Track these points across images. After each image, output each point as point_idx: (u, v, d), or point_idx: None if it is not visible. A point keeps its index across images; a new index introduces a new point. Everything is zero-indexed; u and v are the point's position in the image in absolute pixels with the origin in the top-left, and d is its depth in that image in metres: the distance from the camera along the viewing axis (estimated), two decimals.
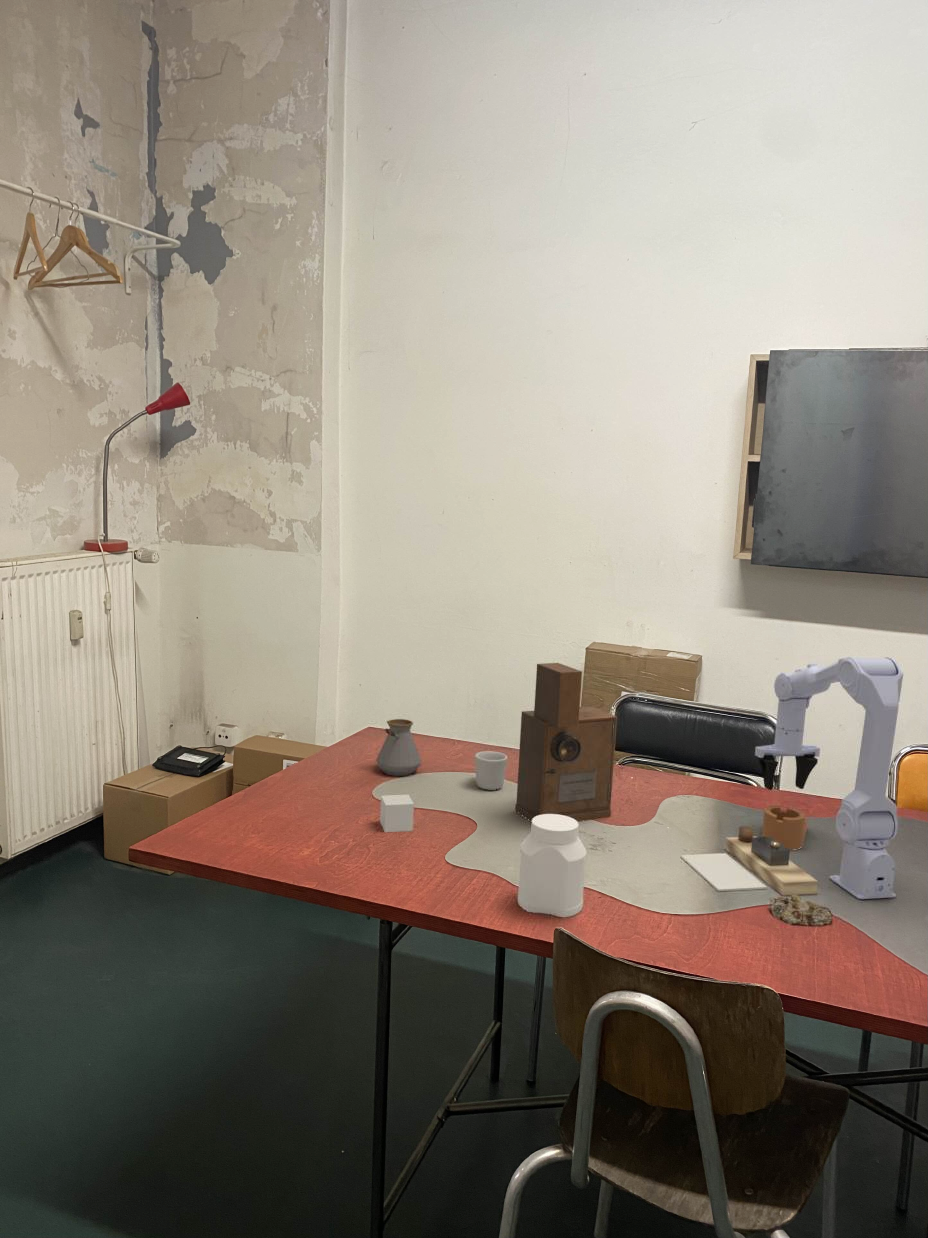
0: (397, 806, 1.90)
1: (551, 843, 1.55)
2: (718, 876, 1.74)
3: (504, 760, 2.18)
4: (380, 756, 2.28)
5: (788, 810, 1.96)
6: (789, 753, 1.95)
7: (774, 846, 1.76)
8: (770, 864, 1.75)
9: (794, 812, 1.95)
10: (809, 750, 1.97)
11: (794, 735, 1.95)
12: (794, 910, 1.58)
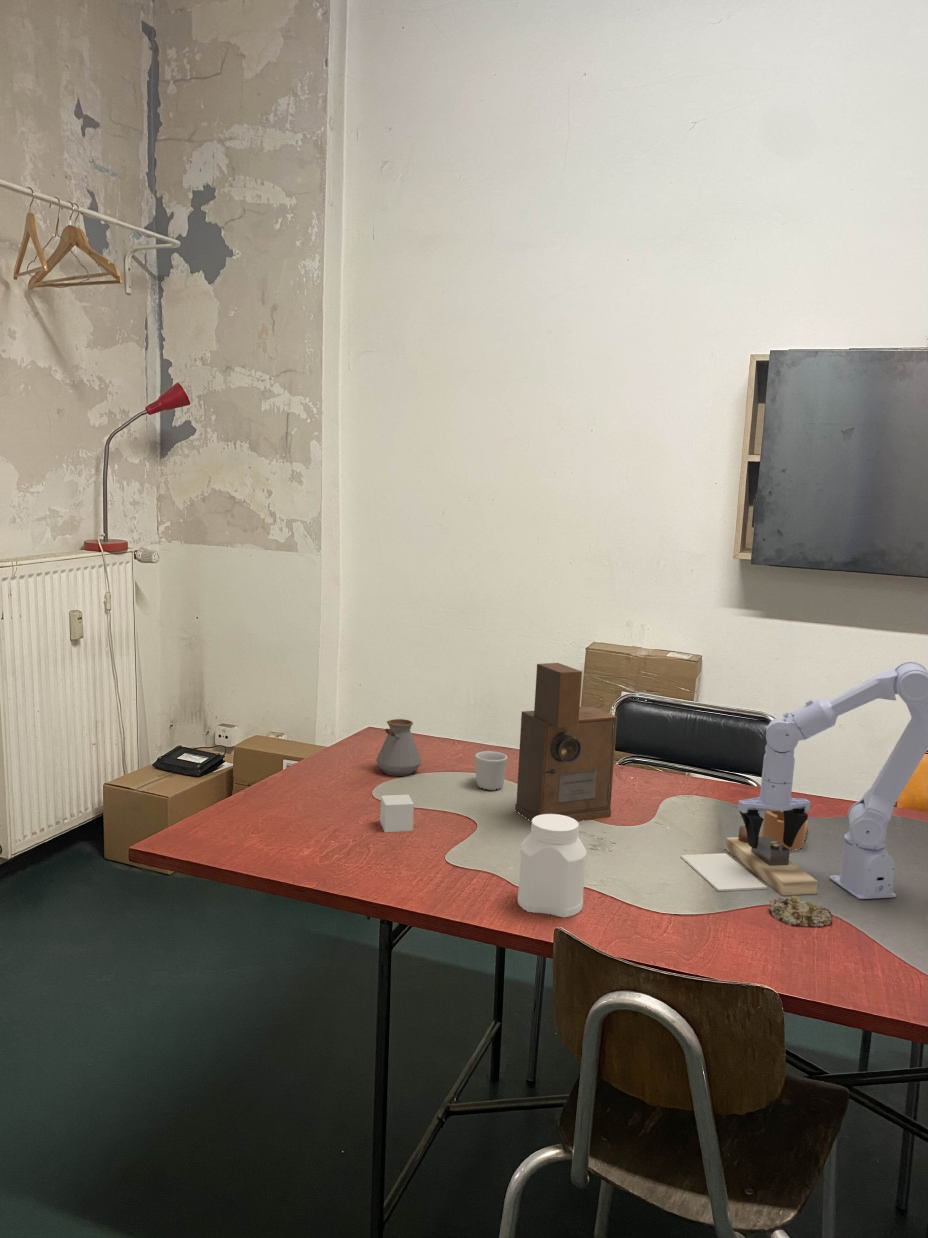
0: (397, 806, 1.90)
1: (551, 843, 1.55)
2: (718, 876, 1.74)
3: (504, 760, 2.18)
4: (380, 756, 2.28)
5: None
6: (776, 808, 1.74)
7: (774, 846, 1.76)
8: (770, 864, 1.75)
9: None
10: (798, 804, 1.77)
11: (782, 788, 1.74)
12: (794, 911, 1.58)
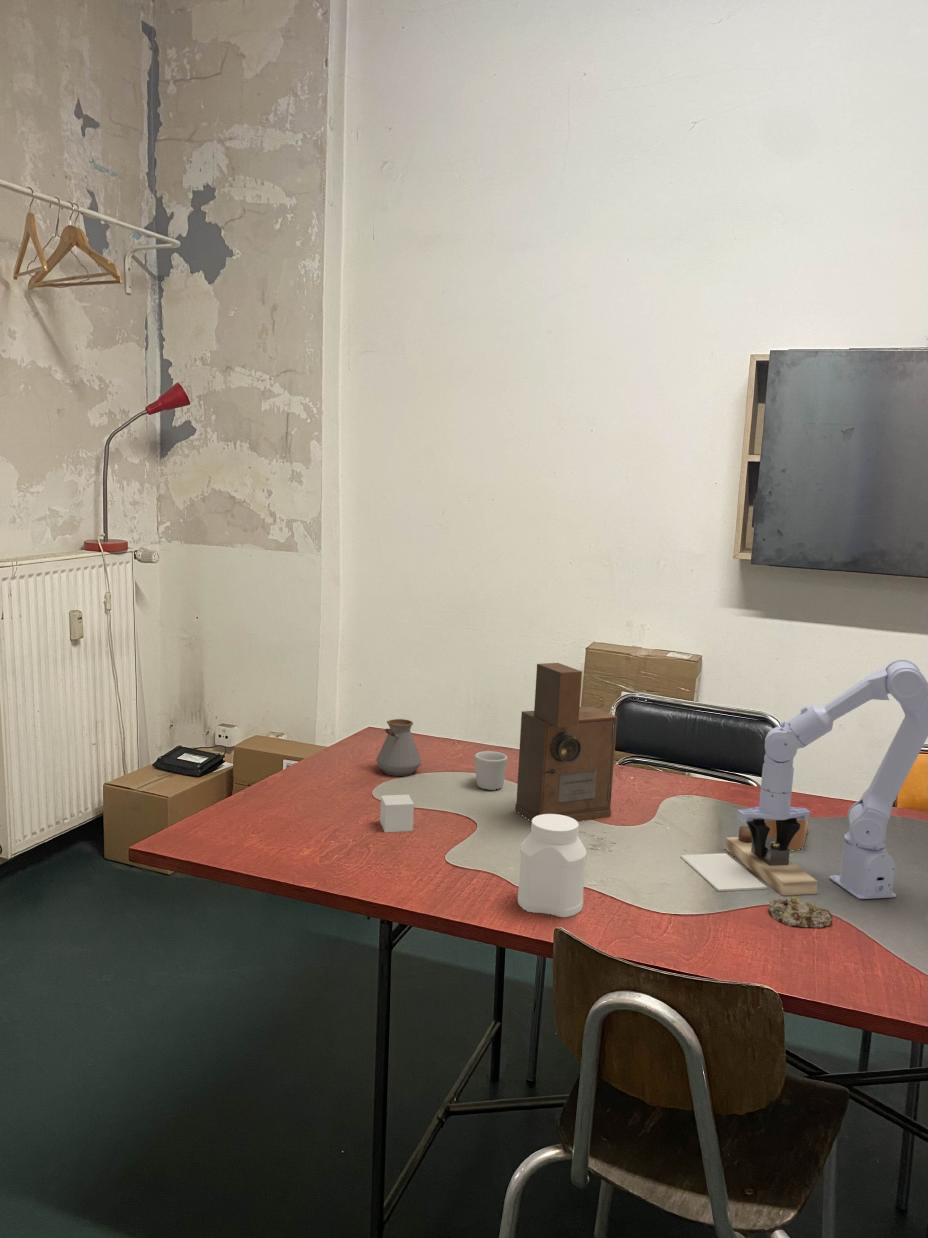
0: (397, 806, 1.90)
1: (551, 843, 1.55)
2: (718, 876, 1.74)
3: (504, 760, 2.18)
4: (380, 756, 2.28)
5: None
6: (775, 818, 1.75)
7: (774, 846, 1.76)
8: (770, 864, 1.75)
9: None
10: (798, 814, 1.77)
11: (781, 798, 1.74)
12: (794, 912, 1.58)
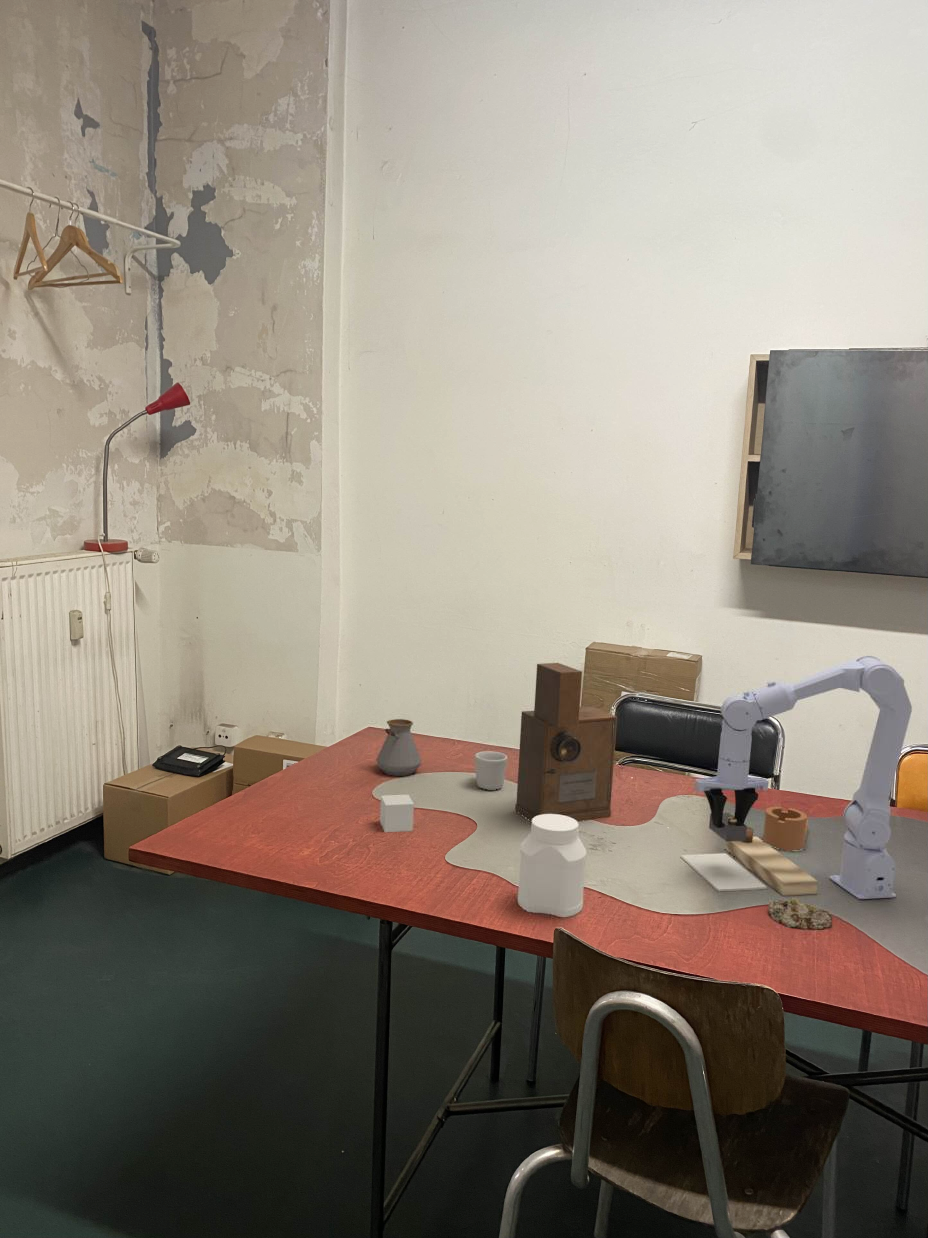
0: (397, 806, 1.90)
1: (551, 843, 1.55)
2: (718, 876, 1.74)
3: (504, 760, 2.18)
4: (380, 756, 2.28)
5: (789, 811, 1.96)
6: (732, 787, 1.72)
7: (731, 822, 1.74)
8: (727, 840, 1.72)
9: (795, 813, 1.95)
10: (756, 783, 1.74)
11: (738, 767, 1.71)
12: (793, 913, 1.57)
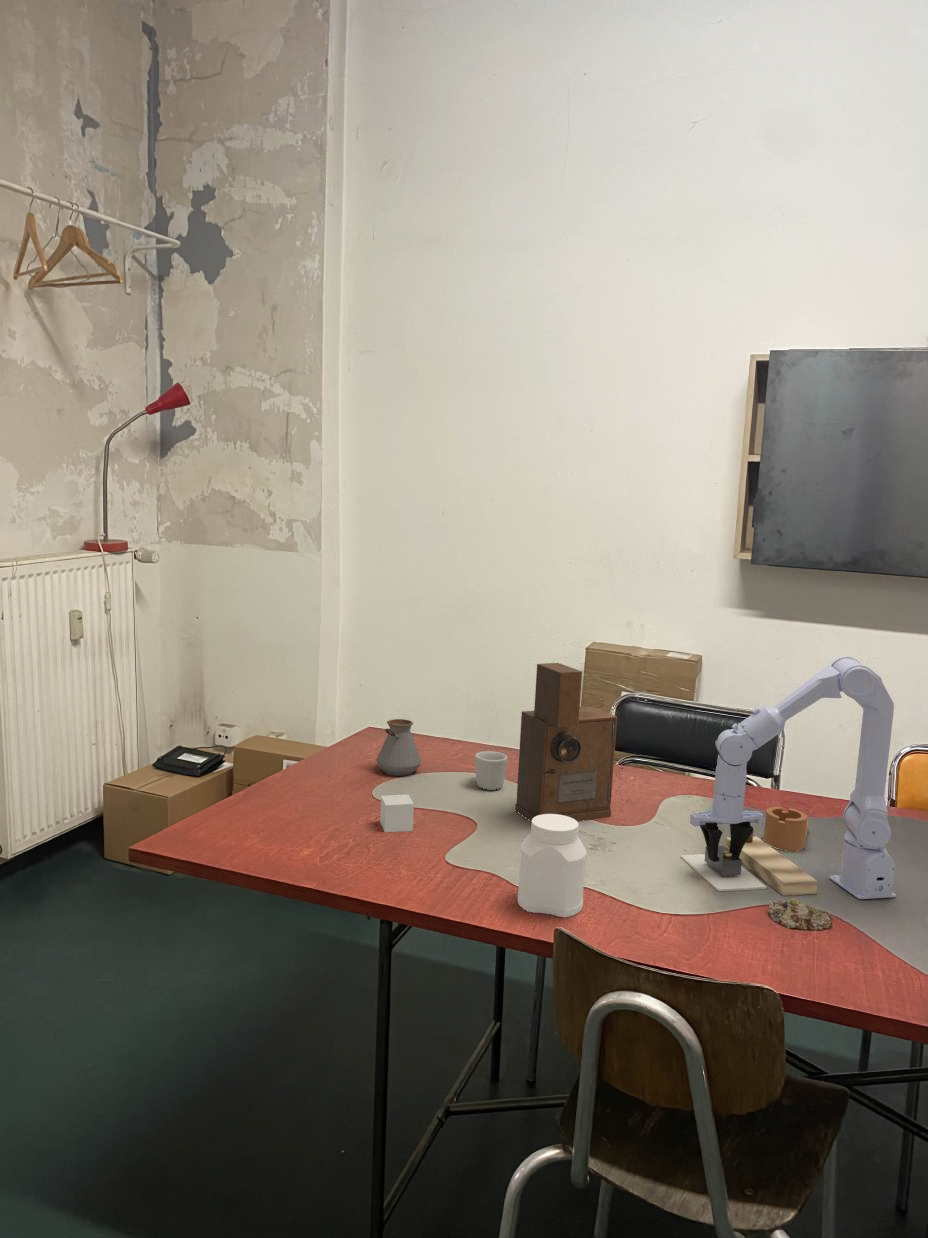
0: (397, 806, 1.90)
1: (551, 843, 1.55)
2: (718, 876, 1.74)
3: (504, 760, 2.18)
4: (380, 756, 2.28)
5: (790, 811, 1.95)
6: (727, 822, 1.73)
7: (726, 856, 1.74)
8: (722, 874, 1.73)
9: (796, 813, 1.94)
10: (751, 817, 1.75)
11: (733, 801, 1.72)
12: (793, 914, 1.57)
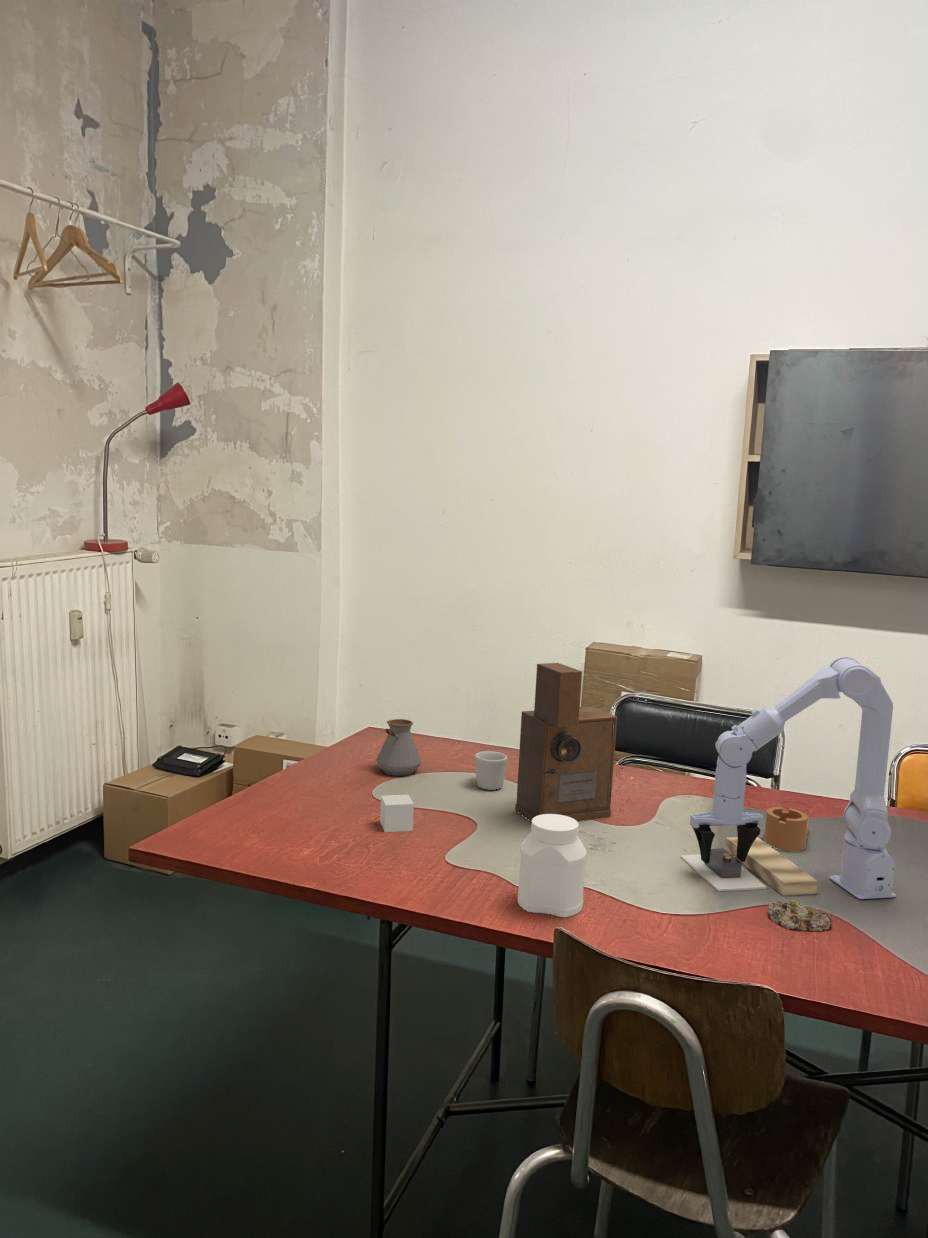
0: (397, 806, 1.90)
1: (551, 843, 1.55)
2: (718, 876, 1.74)
3: (504, 760, 2.18)
4: (380, 756, 2.28)
5: (790, 811, 1.95)
6: (727, 823, 1.73)
7: (726, 858, 1.75)
8: (722, 877, 1.73)
9: (796, 813, 1.94)
10: (751, 819, 1.75)
11: (733, 803, 1.72)
12: (792, 915, 1.56)
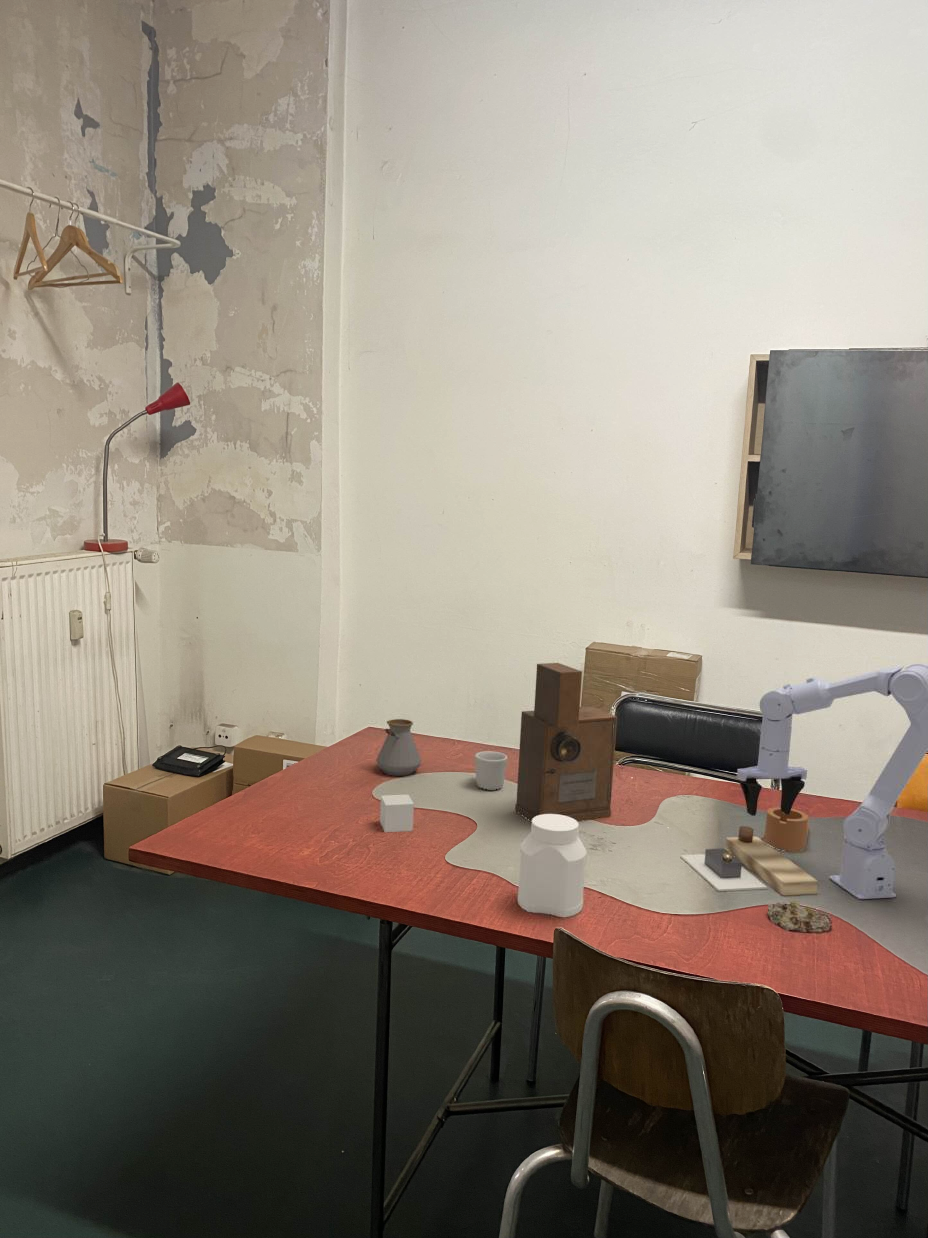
0: (397, 806, 1.90)
1: (551, 843, 1.55)
2: (718, 876, 1.74)
3: (504, 760, 2.18)
4: (380, 756, 2.28)
5: (790, 811, 1.95)
6: (774, 776, 1.79)
7: (726, 858, 1.75)
8: (722, 877, 1.73)
9: (797, 813, 1.94)
10: (795, 772, 1.81)
11: (779, 756, 1.79)
12: (792, 916, 1.56)
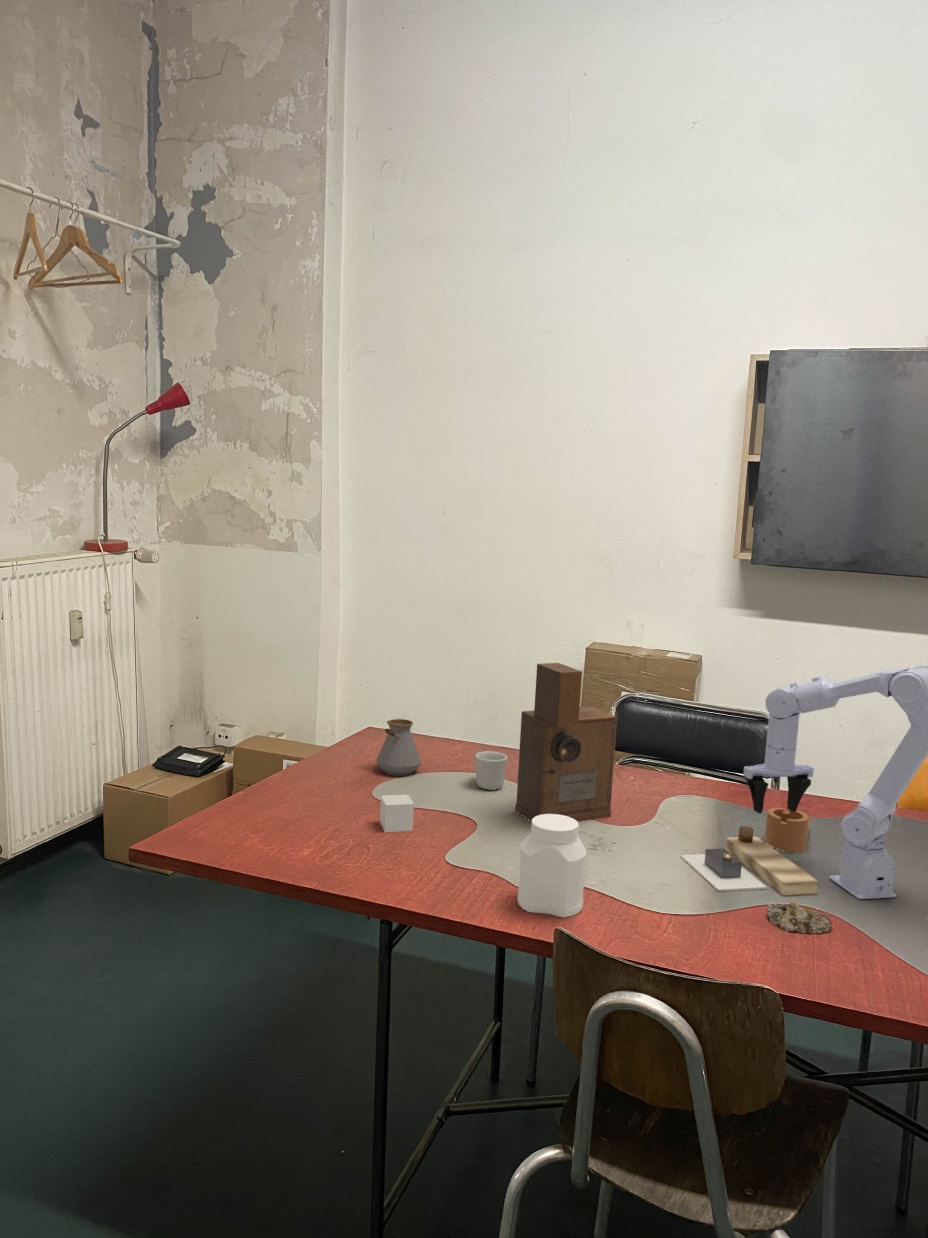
0: (397, 806, 1.90)
1: (551, 843, 1.55)
2: (718, 876, 1.74)
3: (504, 760, 2.18)
4: (380, 756, 2.28)
5: (791, 811, 1.95)
6: (780, 774, 1.80)
7: (726, 858, 1.75)
8: (722, 877, 1.73)
9: (797, 813, 1.94)
10: (802, 770, 1.83)
11: (785, 754, 1.80)
12: (792, 917, 1.56)
